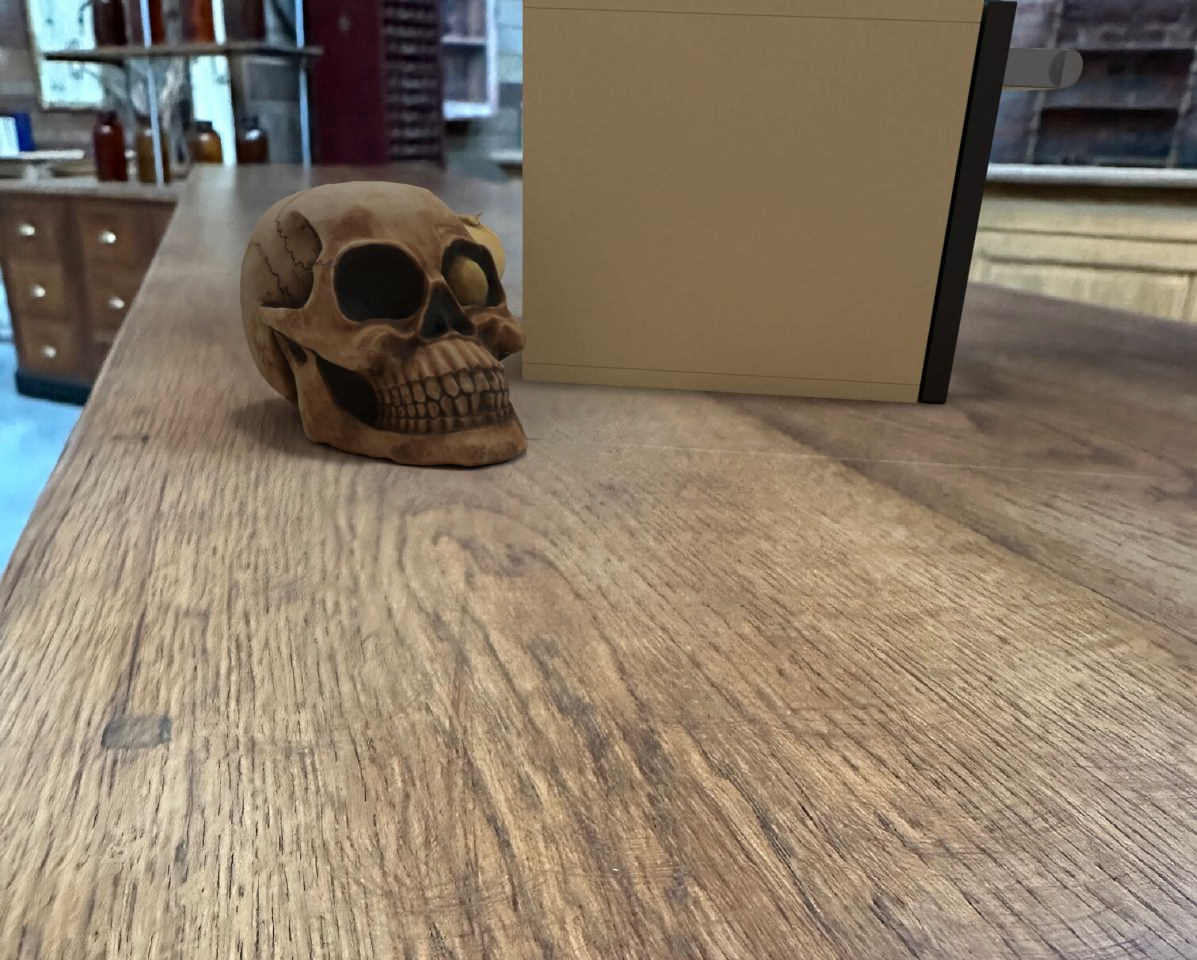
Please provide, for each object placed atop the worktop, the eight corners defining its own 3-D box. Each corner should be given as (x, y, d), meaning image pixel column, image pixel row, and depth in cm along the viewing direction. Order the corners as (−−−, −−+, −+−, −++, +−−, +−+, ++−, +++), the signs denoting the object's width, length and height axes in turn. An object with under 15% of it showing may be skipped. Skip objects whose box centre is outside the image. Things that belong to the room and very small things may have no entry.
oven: (875, 332, 100) (920, 25, 89) (916, 404, 77) (985, -4, 65) (574, 316, 102) (580, 14, 91) (522, 381, 78) (522, -18, 67)
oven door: (957, 335, 100) (1011, 30, 89) (1024, 408, 76) (1110, 4, 65) (879, 331, 100) (923, 27, 89) (921, 402, 76) (988, 0, 65)
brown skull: (506, 469, 59) (476, 168, 53) (194, 477, 63) (131, 195, 56) (574, 413, 73) (556, 168, 66) (314, 422, 76) (274, 190, 70)
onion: (407, 294, 111) (404, 210, 107) (444, 284, 117) (441, 204, 113) (486, 301, 108) (485, 215, 105) (518, 290, 115) (518, 209, 111)
